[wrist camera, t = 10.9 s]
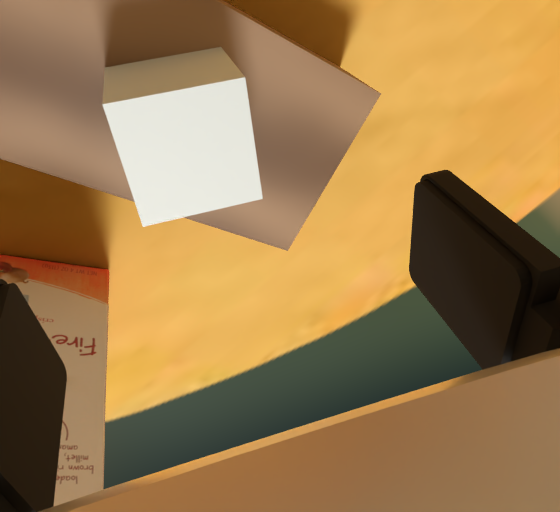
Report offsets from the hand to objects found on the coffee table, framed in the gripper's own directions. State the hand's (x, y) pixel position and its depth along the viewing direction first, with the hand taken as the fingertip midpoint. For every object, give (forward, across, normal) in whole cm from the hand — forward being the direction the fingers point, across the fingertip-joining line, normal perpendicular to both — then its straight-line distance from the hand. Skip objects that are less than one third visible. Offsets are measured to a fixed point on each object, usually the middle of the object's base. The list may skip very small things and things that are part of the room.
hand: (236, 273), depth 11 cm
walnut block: (+19, 0, +1) cm, 19 cm away
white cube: (+13, 0, +1) cm, 13 cm away
